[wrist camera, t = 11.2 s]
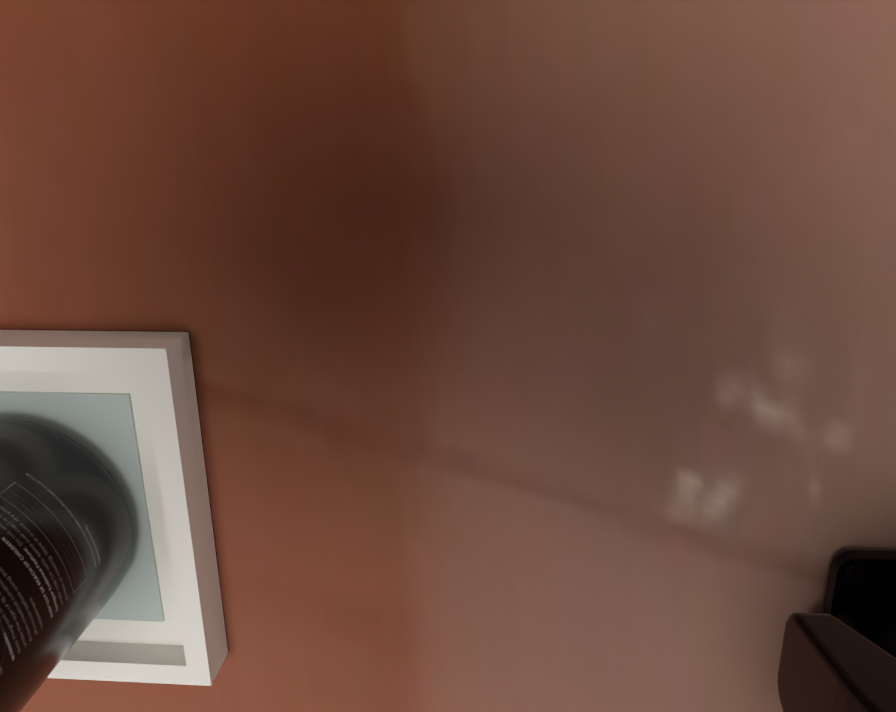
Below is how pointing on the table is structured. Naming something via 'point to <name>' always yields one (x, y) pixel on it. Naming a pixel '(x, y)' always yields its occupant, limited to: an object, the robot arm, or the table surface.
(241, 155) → the table surface
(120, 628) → the cream ceramic dish
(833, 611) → the robot arm
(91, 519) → the supplement bottle
